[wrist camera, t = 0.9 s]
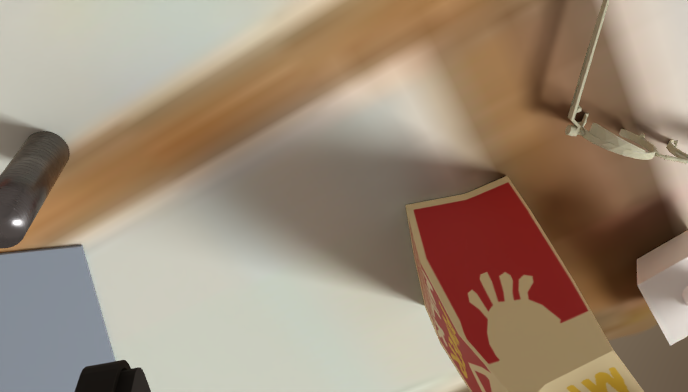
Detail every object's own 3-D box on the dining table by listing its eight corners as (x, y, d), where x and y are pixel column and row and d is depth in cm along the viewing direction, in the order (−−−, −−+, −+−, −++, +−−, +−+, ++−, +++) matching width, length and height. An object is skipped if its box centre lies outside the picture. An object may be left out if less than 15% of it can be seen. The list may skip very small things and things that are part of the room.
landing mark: (-138, 267, 43) (-140, 269, 43) (82, 245, 44) (81, 246, 44) (-64, 419, 50) (-65, 421, 49) (125, 396, 51) (124, 398, 51)
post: (19, 133, 40) (-39, 206, 32) (63, 129, 40) (17, 201, 32) (31, 171, 41) (-22, 250, 33) (73, 167, 41) (31, 245, 33)
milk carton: (424, 305, 50) (515, 556, 33) (398, 205, 45) (488, 435, 28) (540, 272, 50) (693, 507, 32) (525, 168, 45) (695, 376, 28)
